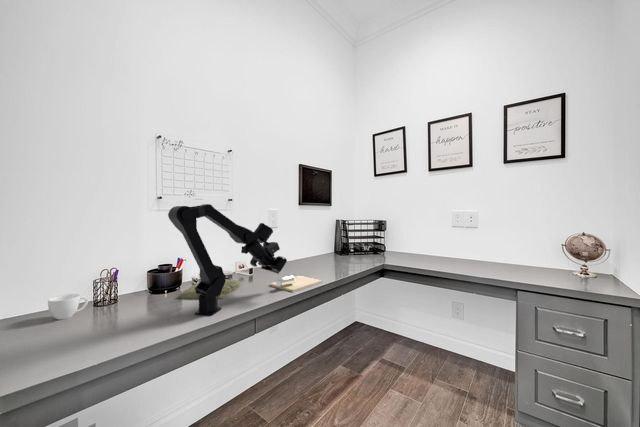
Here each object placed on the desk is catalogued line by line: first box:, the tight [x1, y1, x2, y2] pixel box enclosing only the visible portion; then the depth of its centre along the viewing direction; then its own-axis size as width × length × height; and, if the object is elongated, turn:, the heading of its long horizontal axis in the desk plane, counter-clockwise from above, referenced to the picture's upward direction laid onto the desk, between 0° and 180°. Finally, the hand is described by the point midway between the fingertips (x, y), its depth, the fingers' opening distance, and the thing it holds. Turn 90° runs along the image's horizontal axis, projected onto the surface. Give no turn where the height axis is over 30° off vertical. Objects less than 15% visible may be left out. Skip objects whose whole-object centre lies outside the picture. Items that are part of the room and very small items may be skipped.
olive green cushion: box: [180, 279, 242, 300], centre depth 119 cm, size 19×20×4 cm
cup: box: [47, 293, 89, 321], centre depth 92 cm, size 8×10×7 cm
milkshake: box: [275, 274, 295, 287], centre depth 124 cm, size 5×5×10 cm
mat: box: [269, 275, 323, 293], centre depth 130 cm, size 20×16×1 cm
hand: (278, 272), depth 120 cm, fingers closed
